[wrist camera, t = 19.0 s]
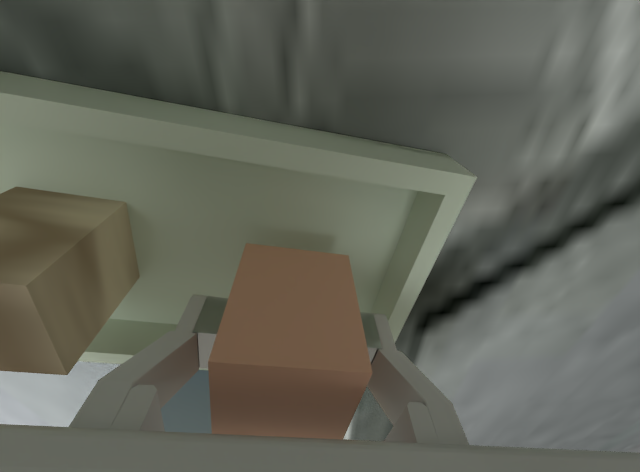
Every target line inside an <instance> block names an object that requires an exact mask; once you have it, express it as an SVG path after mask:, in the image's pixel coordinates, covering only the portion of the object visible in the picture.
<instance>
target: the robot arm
mask: <svg viewBox="0 0 640 472" xmlns="http://www.w3.org/2000/svg"><path fill="white" fill-rule="evenodd" d="M227 301H228V298H221V297H213V296H203V295H195V294H193V295H192V297H191V298H190V300H189V302H188V304H187V306H186V308H185V310H184V312H183V314H182V317H181V319H180V321H179V323H178V325H177V327H176V329H175V331H169V332H168V333H166V334H165V335H163V336H162V337H160V338H159V339H157V340H156V341H155V342H153V343H152V344H150V345H149V346H147V347H146V348H144V349H143V350H142V351H140V352H139V353H137V354H136V355H134V356H133V357H131V358H130V359H129V360H127V361H126V362H124V363H123V364H121V365H120V366H118V367H117V368H115V369H114V370H113V371H111V372H110V373H108V374H107V375H105V376H104V377H102V378H101V379H100V380H98V382H97V383H96V385H95V387H94V388H93V390H92V391H91V393H90V394H89V396H88V398H87V399H86V401H85V402H84V404H83V405H82V407H81V408H80V410H79V412H78V413H77V415H76V416H75V418H74V419H73V421H72V422H71V424H70V426H69V427H52V426H29V425H7V424H0V472H640V453H636V452H613V451H590V450H568V449H545V448H523V447H500V446H477V445H469V443H468V440H467V438H466V435H465V433H464V431H463V428H462V426H461V423H460V421H459V419H458V416H457V414H456V411H455V409H454V406H453V404H452V403H451V402H450V401H449V400H448V399H447V398H446V397H445V396H444V395H443V394H442V393H441V392H440V391H439V389H438V388H437V387H436V386H435V385H434V384H433V383H432V382H431V381H430V380H429V379H428V378H427V377H426V376H425V375H424V374H423V373H422V372H421V371H420V370H419V369H418V368H417V367H416V366H415V365H414V364H413V363H412V362H411V361H410V360H409V359H408V358H407V357H406V356H405V355H404V354H403V353H402V352H401V351H397V349H396V346H395V342H394V339H393V336H392V333H391V329H390V326H389V323H388V320H387V317H386V315H385V314H376V313H366V312H360V314H361V319H362V324H363V329H364V334H365V338H366V343H367V348H368V353H369V358H370V363H371V368H372V376H371V378H370V380H369V382H368V384H367V387H368V388H369V390H370V391H371V393H372V394H373V396H374V397H375V399H376V400H377V402H378V403H379V405H380V406H381V408H382V409H383V411H384V412H385V414H386V415H387V417H388V418H389V420H390V421H391V423H392V424H393V428H392V430H391V431H390V433H389V434H388V436H387V437H386V439H385V440H384V441H365V440H343V439H322V438H299V437H277V436H254V435H231V434H209V433H186V432H165V429H164V424H163V419H162V413H161V408H162V407H163V406H164V405H165V404H166V403H167V402H168V401H169V400H170V399H171V398H172V397H173V396H174V395H175V394H176V393H177V392H178V391H179V390H180V389H181V388H182V387H183V386H184V385H185V384H186V383H187V382H188V381H189V379H190V378H191V377H192V376H193V375H194V374H195V373H196V372H197V371H198V370H199V368H203V369H208V360H209V357H210V354H211V351H212V348H213V345H214V342H215V338H216V335H217V332H218V329H219V326H220V323H221V320H222V317H223V313H224V310H225V307H226V304H227Z"/></svg>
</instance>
